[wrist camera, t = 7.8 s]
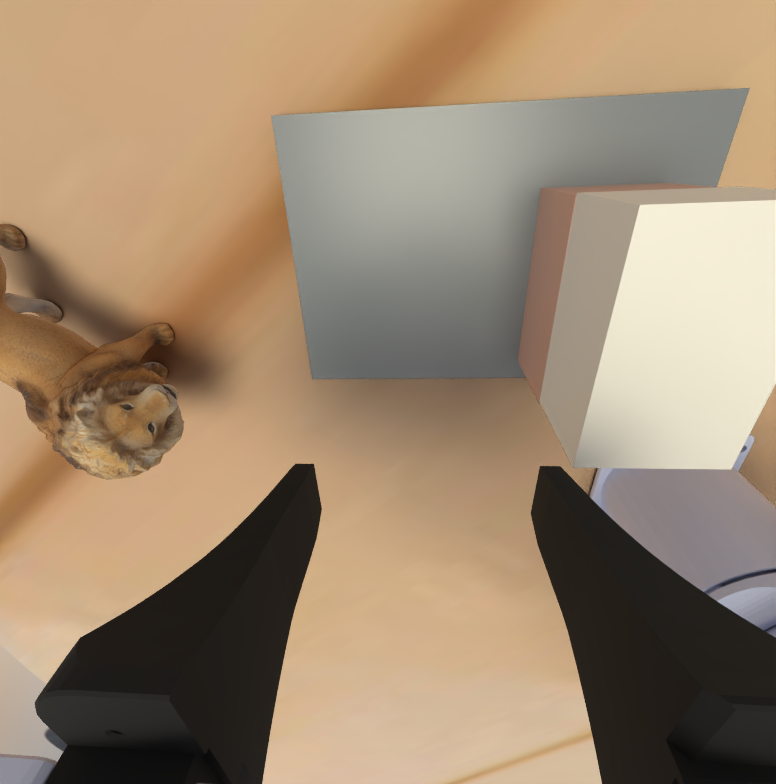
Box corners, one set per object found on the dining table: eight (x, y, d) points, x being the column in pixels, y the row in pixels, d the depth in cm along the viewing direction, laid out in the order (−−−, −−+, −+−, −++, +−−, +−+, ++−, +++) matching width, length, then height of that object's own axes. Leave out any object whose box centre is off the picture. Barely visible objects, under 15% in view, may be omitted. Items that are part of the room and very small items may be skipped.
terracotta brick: (617, 359, 20) (661, 403, 17) (517, 360, 21) (539, 403, 17) (666, 182, 16) (738, 188, 13) (541, 187, 17) (576, 195, 13)
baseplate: (643, 368, 21) (653, 376, 20) (316, 370, 23) (312, 379, 22) (731, 91, 15) (749, 88, 14) (278, 118, 17) (271, 115, 16)
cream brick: (662, 402, 16) (731, 469, 13) (539, 402, 17) (572, 467, 13) (740, 186, 12) (872, 196, 9) (577, 192, 13) (639, 204, 9)
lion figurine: (247, 343, 22) (155, 440, 14) (218, 410, 25) (127, 525, 17) (-37, 196, 19) (-347, 219, 11) (-38, 289, 22) (-292, 361, 14)
